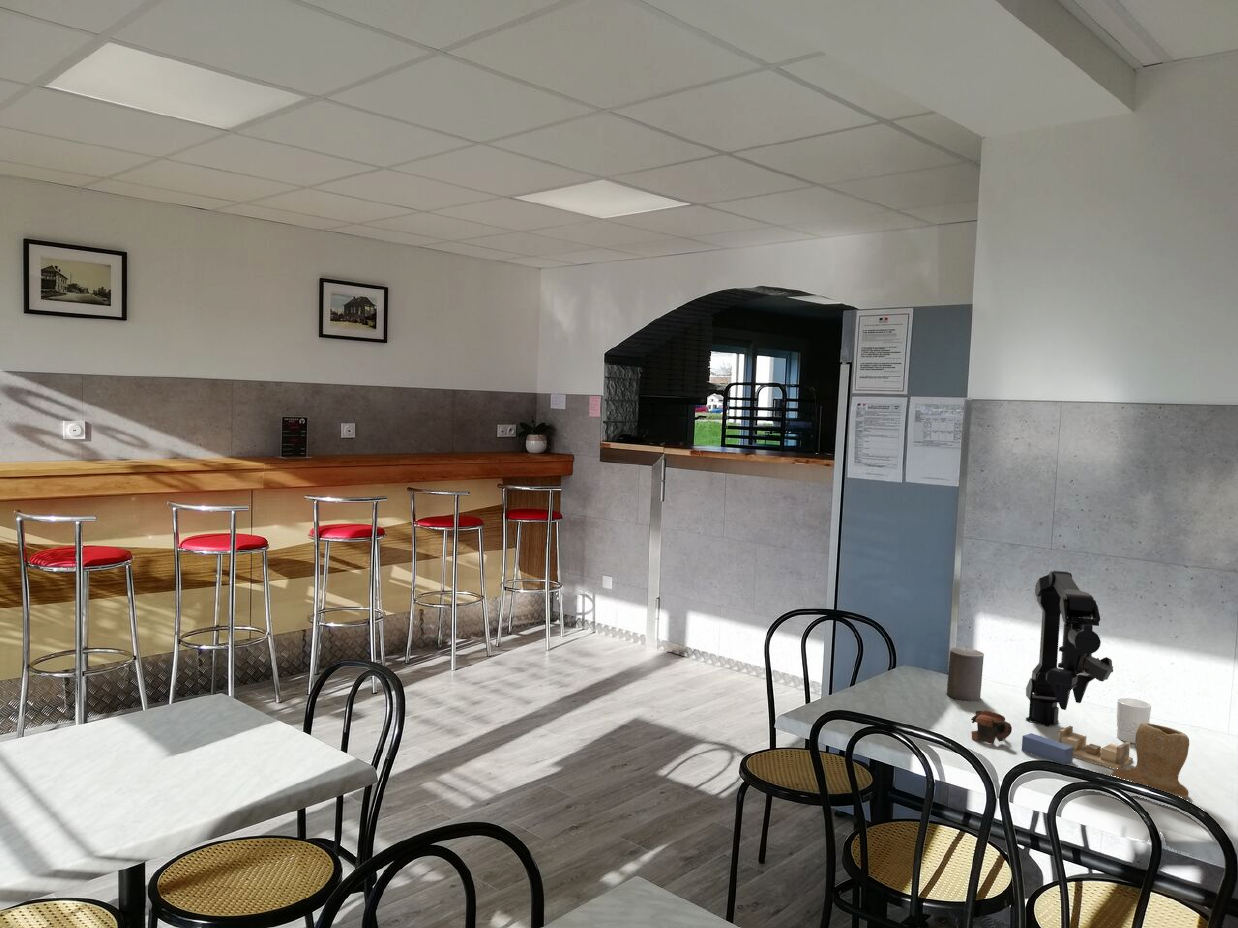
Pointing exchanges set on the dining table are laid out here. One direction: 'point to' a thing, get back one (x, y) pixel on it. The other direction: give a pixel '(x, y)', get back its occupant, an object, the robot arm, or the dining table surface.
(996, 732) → the pottery mug
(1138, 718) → the white cup
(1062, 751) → the tall slate-blue box
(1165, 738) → the stone cup
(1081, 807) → the dining table surface
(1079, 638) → the robot arm
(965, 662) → the pillar candle
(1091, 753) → the display cradle
